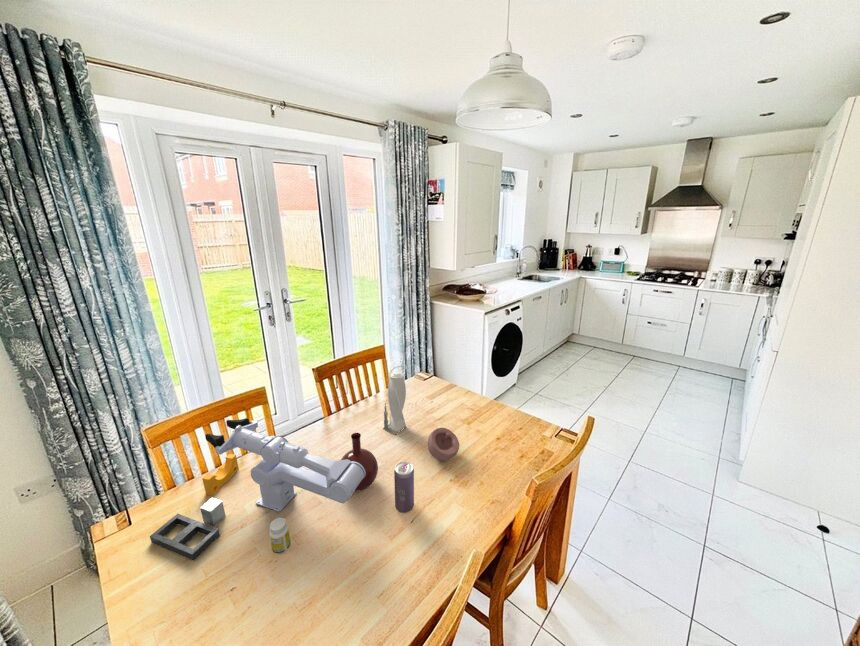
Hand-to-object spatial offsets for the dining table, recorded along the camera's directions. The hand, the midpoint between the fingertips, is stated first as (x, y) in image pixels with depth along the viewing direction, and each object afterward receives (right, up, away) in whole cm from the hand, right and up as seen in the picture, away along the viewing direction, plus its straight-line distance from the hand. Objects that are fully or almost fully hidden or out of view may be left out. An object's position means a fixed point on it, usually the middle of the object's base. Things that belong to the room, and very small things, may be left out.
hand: (217, 429), depth 110 cm
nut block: (+3, -25, -7) cm, 26 cm away
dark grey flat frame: (-1, -27, -13) cm, 30 cm away
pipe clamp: (-4, -20, +8) cm, 22 cm away
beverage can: (+60, -24, -1) cm, 65 cm away
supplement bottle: (+27, -28, -15) cm, 42 cm away
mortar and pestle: (+73, -17, +21) cm, 78 cm away
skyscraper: (+54, -11, +38) cm, 67 cm away
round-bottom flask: (+44, -21, +7) cm, 50 cm away
